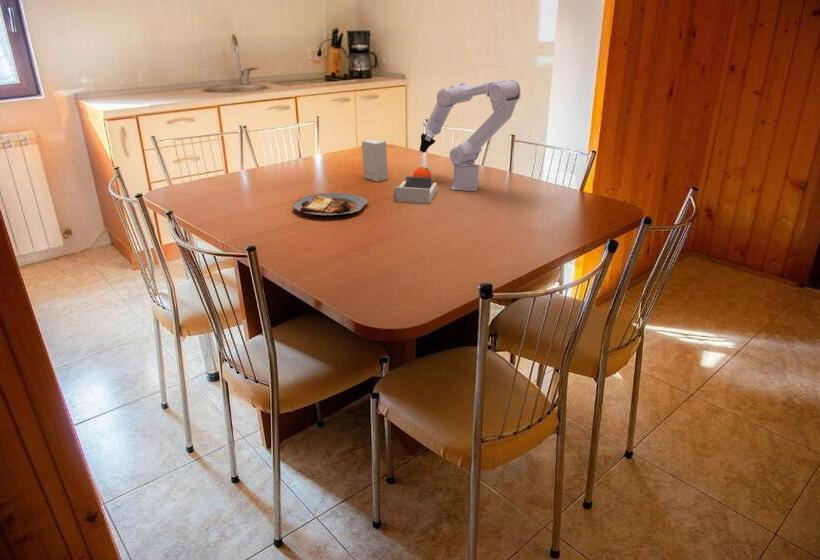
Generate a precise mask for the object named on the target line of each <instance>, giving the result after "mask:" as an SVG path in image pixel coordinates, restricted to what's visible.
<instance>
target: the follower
mask: <svg viewBox="0 0 820 560" xmlns="http://www.w3.org/2000/svg"><path fill="white" fill-rule="evenodd" d="M405 181H406V187H411V188H427V189H430V188H431V186H432V185H433V183H432V177H431V178H426V177H413V176H409V175H408V176H405Z"/></svg>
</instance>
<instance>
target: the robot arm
mask: <svg viewBox="0 0 820 560" xmlns="http://www.w3.org/2000/svg"><path fill="white" fill-rule="evenodd" d="M436 93H437V94H436V100H437V101H436V103H435V105H434V107H433V110H432V111H431V114H430V116H429V118H428V120H427V121H424V122H423V123H422V126H424V127H425V133H424V132H422V133H421V135H420V139H421V140H420V142H421V143H420V145H419V152H421V153H423V154H425V153H426V151H427V150H428V149H429V148H430V147H431V146H432V145H434V144H435V143H436V140H435V139H434V137H435V136H437V135H439V134H441V132H442V129H443V126H444V125H445V122H446V120H447V118H448V116H449V114H450V112H451V109H452V108H453V107H454V106H455V105H457V104H460V103H466V102H469V101H471V100H473V97H476V96H480V95H486V98H487V97H489V100H490V104H491V108H492V111H493V113H491V115H490V116H489V117H488V118H487V119H486V120H485V121H484V122H483V123H482V124H481V126H479V127H478V128H477V129H476V131H474V133H472V135H471V136H470V137H469V138H468V139H467V140H465V141H463V142H462V143H459V145H457V146H455V147H453V148H451V150H450V151H449V159H450V161H451V163H452V165H453V177H452V178H453V179H452V180H453V182H452V186H451V187H450V190H452V191H468V192H476V191H477V190H478V188H479V185H480V180H479V179H480V165H478V164H475V163H476V160H477V159H478V157H479V155H480V153H481V152H482V147H483V146H484V145H485V144H486V143H487V142H488V141H489V140H490V139H491V138H492V137H494V135H495V134H496V133H497V132H498V131H499V130H500V129H501V128H503V126H504V125H505V124H506V123H507V122H508V121H509V120H510V119H511V118H512V115H513V112H514V110H515V108H516V104H517V103H518V101H519V100H520V99H521V87H520V84H519V82H518V81H516V80H515V79H513V80H512V79H511V80H497V81H487V82H484V83H481V84H476V85H470V84H468V83H466V82H460V83H459V85H457V86H456V85H455V86H454V85H451V86H449V88H441V89H440V90H439V91H437V92H436Z"/></svg>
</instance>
